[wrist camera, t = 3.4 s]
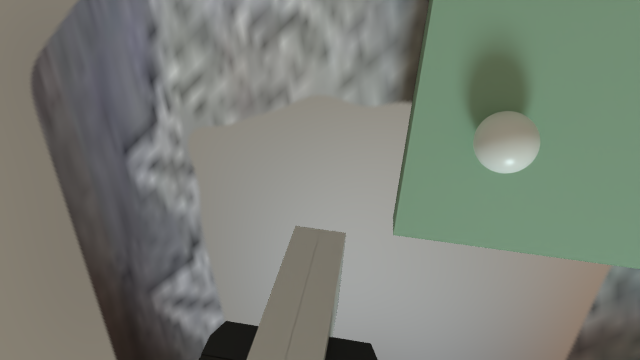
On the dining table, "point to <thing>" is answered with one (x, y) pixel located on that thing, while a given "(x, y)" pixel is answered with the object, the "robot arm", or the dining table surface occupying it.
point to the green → (546, 113)
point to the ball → (506, 142)
